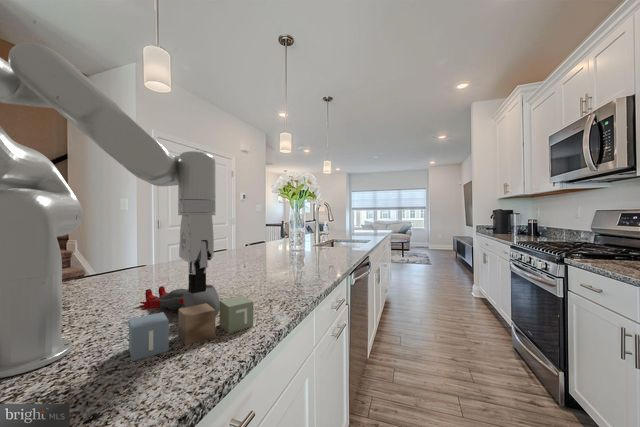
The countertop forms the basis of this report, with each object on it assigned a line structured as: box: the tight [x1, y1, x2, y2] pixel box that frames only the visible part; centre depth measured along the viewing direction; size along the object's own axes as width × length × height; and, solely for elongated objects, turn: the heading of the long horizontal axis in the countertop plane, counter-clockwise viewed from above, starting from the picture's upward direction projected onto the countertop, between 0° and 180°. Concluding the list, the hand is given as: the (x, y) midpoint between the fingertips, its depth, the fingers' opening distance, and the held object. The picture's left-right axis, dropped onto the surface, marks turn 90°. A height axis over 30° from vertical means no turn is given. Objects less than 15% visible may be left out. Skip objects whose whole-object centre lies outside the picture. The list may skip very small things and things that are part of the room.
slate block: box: [128, 311, 170, 361], centre depth 53 cm, size 6×6×6 cm
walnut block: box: [178, 303, 216, 346], centre depth 59 cm, size 6×6×6 cm
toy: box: [139, 284, 220, 318], centre depth 74 cm, size 16×10×30 cm
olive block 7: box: [218, 295, 254, 334], centre depth 64 cm, size 6×6×6 cm
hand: (197, 291), depth 59 cm, fingers closed
